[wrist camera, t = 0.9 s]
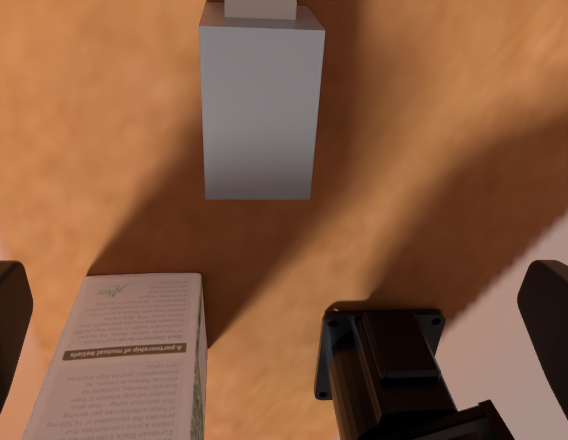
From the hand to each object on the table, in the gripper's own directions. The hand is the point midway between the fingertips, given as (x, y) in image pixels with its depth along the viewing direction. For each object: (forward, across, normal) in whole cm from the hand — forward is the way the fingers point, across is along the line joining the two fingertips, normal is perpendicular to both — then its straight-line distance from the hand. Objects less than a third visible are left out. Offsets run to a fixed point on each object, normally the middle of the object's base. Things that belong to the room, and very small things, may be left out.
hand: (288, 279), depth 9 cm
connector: (+12, 0, 0) cm, 12 cm away
